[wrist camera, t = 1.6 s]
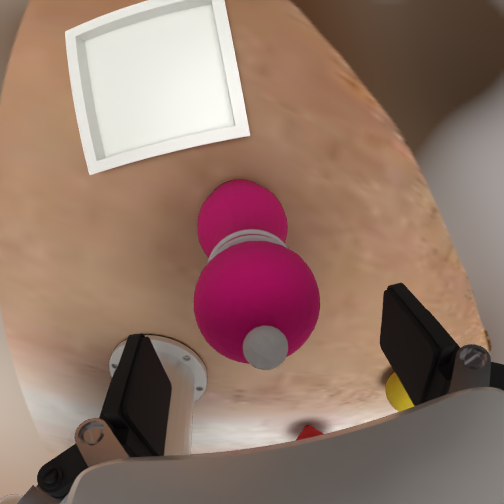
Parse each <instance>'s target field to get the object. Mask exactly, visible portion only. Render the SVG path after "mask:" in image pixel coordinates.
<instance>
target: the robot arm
mask: <svg viewBox="0 0 504 504" xmlns="http://www.w3.org/2000/svg"><path fill="white" fill-rule="evenodd" d="M380 346H381V349H382V351H383V352H384V354H385V356H386V357H387V359H388V361H389V363H390V364H391V366H392V368H393V369H394V371H395V373H396V375H397V376H398V378H399V380H400V382H401V383H402V385H403V387H404V389H405V390H406V392H407V394H408V396H409V398H410V399H411V401H412V403H413V405H414V407H411V408H409V409H406V410H403V411H400V412H397V413H394V414H391V415H388V416H386V417H383V418H379V419H376V420H373V421H370V422H367V423H364V424H360V425H357V426H353V427H350V428H346V429H342V430H339V431H335V432H331V433H327V434H323V435H319V436H314V437H310V438H306V439H301V440H296V441H291V442H286V443H281V444H275V445H269V446H263V447H256V448H250V449H242V450H234V451H226V452H216V453H205V454H191V439H192V417H193V402H195V401H197V400H198V399H199V398H200V397H201V396H202V395H203V393H204V392H205V389H206V386H207V370H206V368H205V365H204V363H203V362H202V360H201V359H200V357H199V356H198V355H197V354H196V353H195V352H194V351H192V350H191V349H190V348H188V347H187V346H185V345H183V344H181V343H179V342H177V341H175V340H172V339H169V338H166V337H161V336H154V335H144V334H134V335H129V336H128V339H127V340H125V341H123V342H121V343H120V344H119V345H118V346H117V347H116V348H115V349H114V351H113V353H112V355H111V358H110V362H109V370H110V374H111V377H112V380H111V383H110V386H109V389H108V392H107V395H106V398H105V401H104V405H103V408H102V411H101V414H100V418H92V419H88V420H86V421H84V422H83V423H81V424H80V425H79V427H78V428H77V430H76V432H75V442H76V444H74V445H73V446H71V447H70V448H69V449H67V450H66V451H64V452H63V453H61V454H60V455H58V456H57V457H55V458H54V459H52V460H51V461H49V462H48V463H46V464H45V465H44V466H42V467H41V469H40V470H39V472H38V475H37V482H38V485H37V486H36V487H35V486H34V485H33V486H32V487H31V488H30V489H29V490H28V491H27V493H26V494H25V495H24V496H23V495H18V494H10V495H6V496H4V497H2V498H1V499H0V504H504V365H502V364H499V363H494V362H491V357H490V354H489V352H488V351H487V350H486V349H485V348H483V347H481V346H479V345H475V344H469V345H465V346H463V347H461V348H460V347H459V346H458V344H457V343H456V342H455V341H454V340H453V338H452V337H451V336H450V335H449V334H448V333H447V331H446V330H445V329H444V328H443V327H442V326H441V324H440V323H439V322H438V321H437V320H436V319H435V317H434V316H433V315H432V314H431V313H430V312H429V311H428V310H427V309H426V308H425V307H424V306H423V305H422V304H421V303H420V302H419V301H418V299H417V298H416V297H415V296H414V295H413V294H412V293H411V292H410V291H409V290H408V289H407V287H406V286H405V285H404V284H403V283H398V284H394V285H390V286H388V288H387V290H385V291H384V297H383V311H382V324H381V335H380Z"/></svg>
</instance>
